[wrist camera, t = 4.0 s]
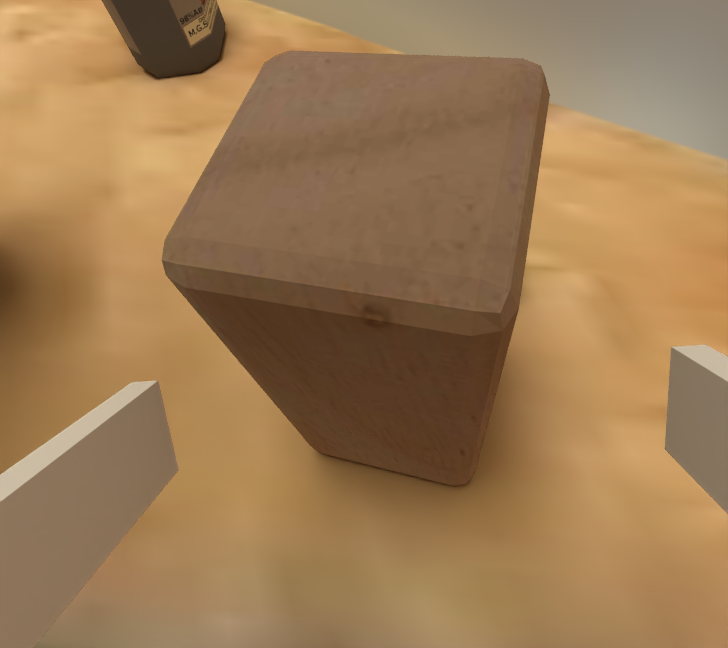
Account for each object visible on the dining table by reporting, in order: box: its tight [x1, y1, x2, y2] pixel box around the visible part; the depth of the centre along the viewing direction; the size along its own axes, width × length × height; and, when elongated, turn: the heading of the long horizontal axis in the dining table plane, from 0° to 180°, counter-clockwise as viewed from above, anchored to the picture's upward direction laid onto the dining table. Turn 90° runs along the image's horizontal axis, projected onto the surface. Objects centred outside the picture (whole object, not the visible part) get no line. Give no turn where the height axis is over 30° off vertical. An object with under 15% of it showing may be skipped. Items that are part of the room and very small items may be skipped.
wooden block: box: [162, 51, 550, 486], centre depth 23 cm, size 10×10×20 cm
